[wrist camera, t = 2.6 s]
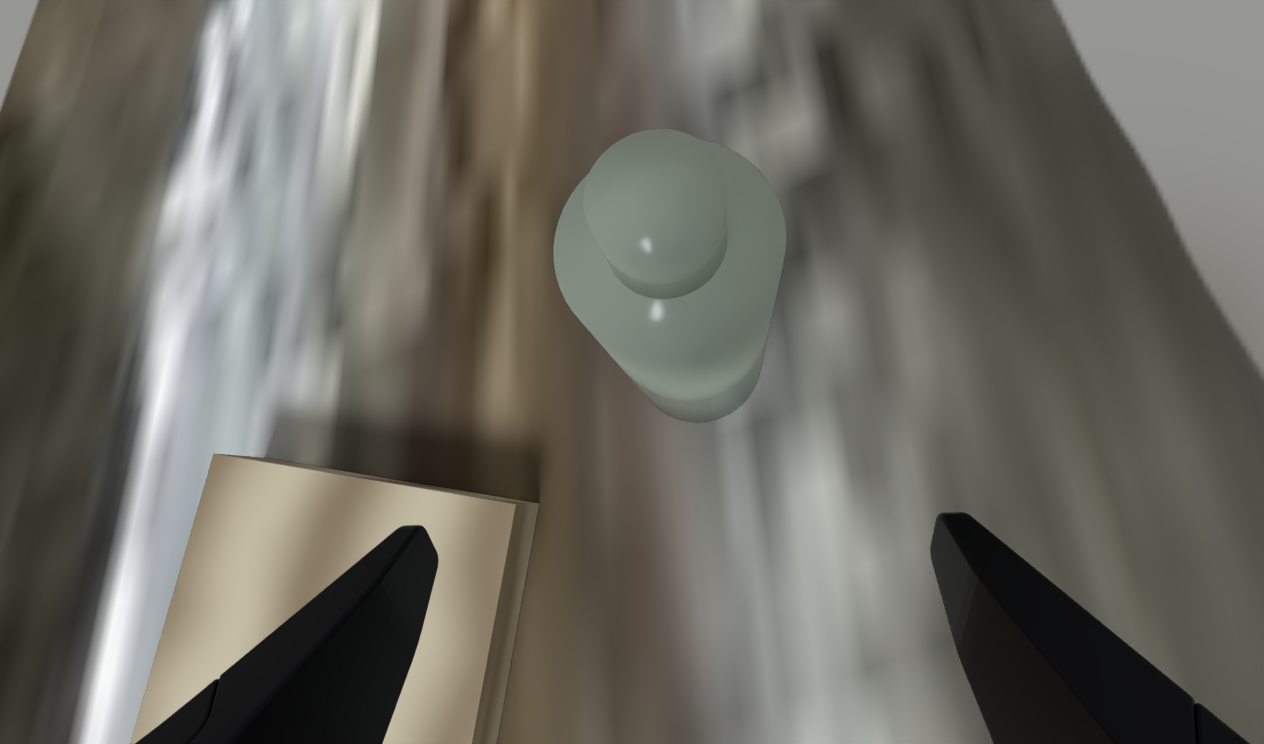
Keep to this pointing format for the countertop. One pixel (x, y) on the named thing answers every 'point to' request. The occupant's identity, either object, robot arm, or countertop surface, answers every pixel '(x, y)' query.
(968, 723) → the countertop surface
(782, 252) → the sage bottle
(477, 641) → the birch pad
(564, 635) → the countertop surface
